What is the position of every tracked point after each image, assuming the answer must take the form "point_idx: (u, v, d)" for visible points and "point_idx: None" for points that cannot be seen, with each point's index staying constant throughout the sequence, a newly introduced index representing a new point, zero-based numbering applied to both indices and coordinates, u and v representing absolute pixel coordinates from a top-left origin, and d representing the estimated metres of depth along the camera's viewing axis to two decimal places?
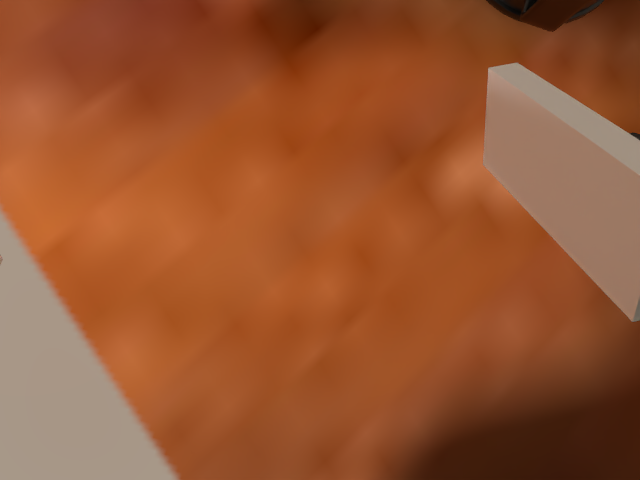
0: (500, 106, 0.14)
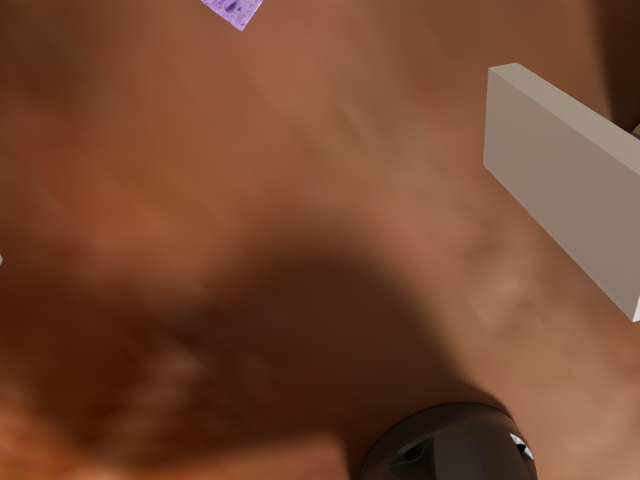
0: (500, 106, 0.14)
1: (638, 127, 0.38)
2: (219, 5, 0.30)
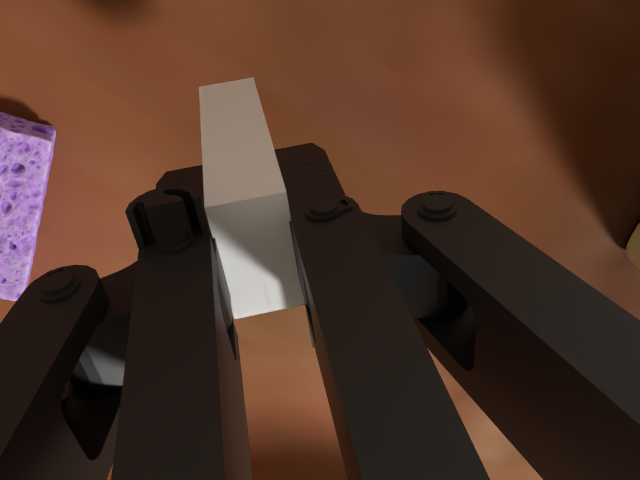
0: None
1: None
2: None
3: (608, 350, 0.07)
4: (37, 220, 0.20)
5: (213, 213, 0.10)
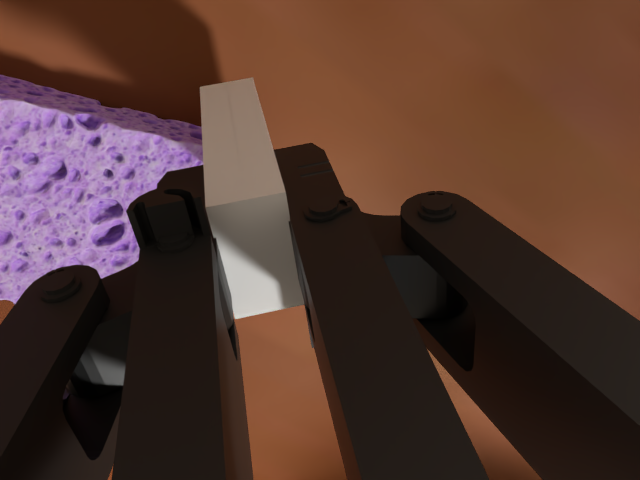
0: None
1: None
2: None
3: (607, 350, 0.07)
4: None
5: (214, 213, 0.10)
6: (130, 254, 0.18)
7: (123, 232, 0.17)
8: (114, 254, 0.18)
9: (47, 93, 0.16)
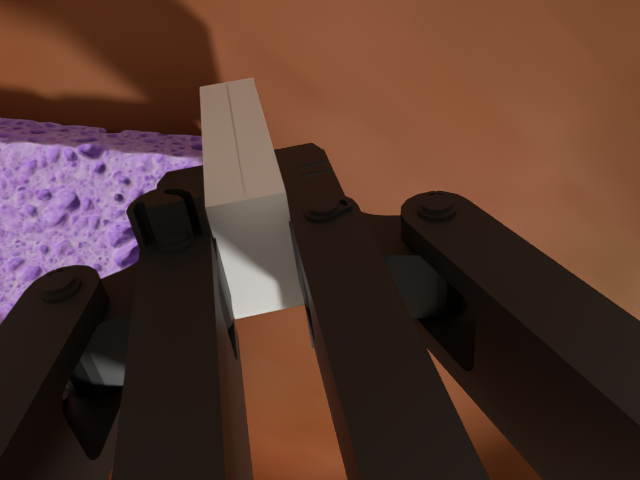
0: None
1: None
2: None
3: (608, 350, 0.07)
4: None
5: (213, 213, 0.10)
6: None
7: None
8: None
9: (50, 129, 0.16)
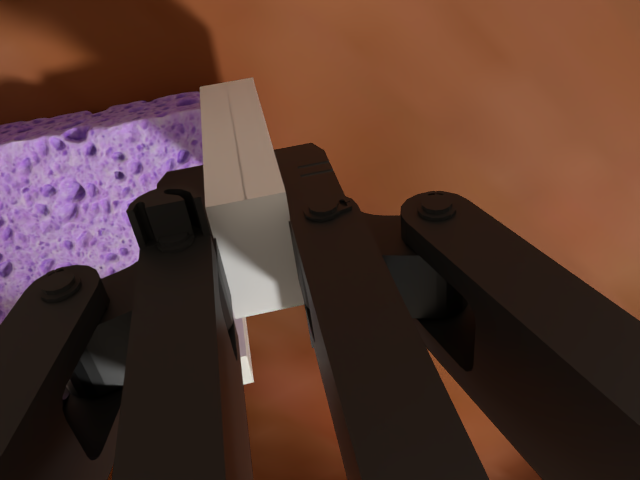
0: None
1: None
2: None
3: (607, 350, 0.07)
4: None
5: (214, 213, 0.10)
6: None
7: None
8: None
9: (36, 125, 0.16)
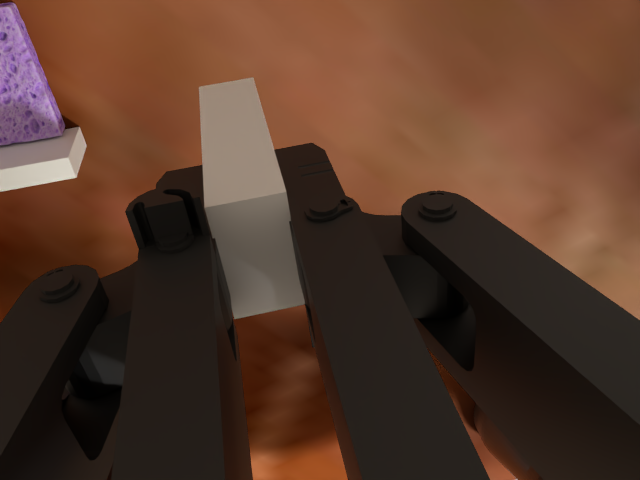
0: None
1: None
2: (29, 134, 0.31)
3: (608, 350, 0.07)
4: (36, 69, 0.30)
5: (213, 213, 0.10)
6: (9, 93, 0.30)
7: None
8: (2, 96, 0.30)
9: None
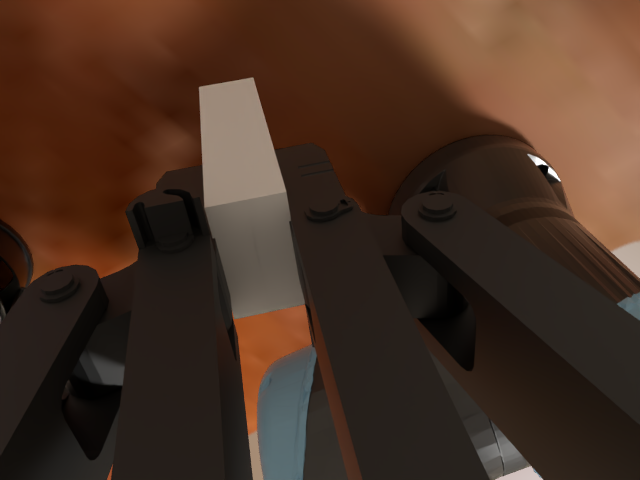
0: None
1: None
2: None
3: (608, 350, 0.07)
4: None
5: (213, 213, 0.10)
6: None
7: None
8: None
9: None
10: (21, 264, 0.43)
